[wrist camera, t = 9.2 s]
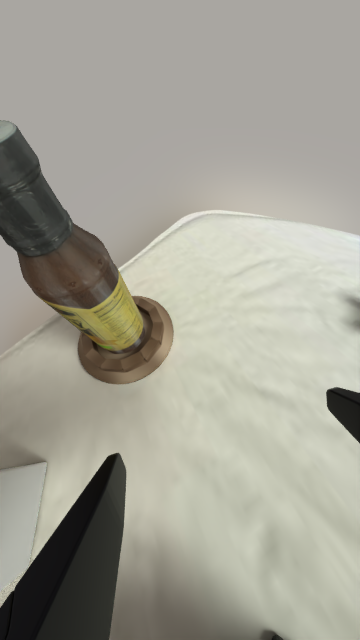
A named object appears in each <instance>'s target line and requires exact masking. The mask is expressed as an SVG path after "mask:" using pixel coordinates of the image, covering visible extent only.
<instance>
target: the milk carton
mask: <svg viewBox="0 0 360 640" xmlns="http://www.w3.org/2000/svg"><path fill="white" fill-rule="evenodd" d="M46 468H47V462H42V463H36V464H30V465H25V466H19V467H13V468H7V469H2V470H0V591H2V590H3V589H4V588H5V587H6V586H7V585H9V584H10V583H11V582H12V581H13V580H15V579H16V578H17V577H18V576H19V575H21V574H22V573H23V572H24V571H25V570H26V569H27V568H28V566H29V562H30V557H31V551H32V546H33V540H34V535H35V529H36V524H37V518H38V513H39V507H40V501H41V496H42V490H43V485H44V479H45V474H46Z"/></svg>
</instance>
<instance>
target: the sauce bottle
mask: <svg viewBox="0 0 360 640" xmlns="http://www.w3.org/2000/svg"><path fill="white" fill-rule="evenodd" d="M0 235H1V236H2V237H3V239H4V240H5V242H6V243H7V244H8V245H10V246H11V247H13V248H14V249H15V250H16V251H17V254H18V257H19V263H20V267H21V271H22V274H23V278H24V279H25V281H26V282H27V284H28V285H29V286H30V287H31V288H32V290H33V292H34V293H35V294H36V295H37V296H38V297H39V298H41V299H42V300H43V301H44V302H45V303H47V304H48V305H49V306H51V307H52V308H53V309H54V310H56V311H57V312H58V313H59V314H60V315H62V316H63V317H64V318H65V319H67V320H68V321H69V322H70V323H72V324H73V325H74V326H76V327H77V328H78V329H79V330H80V331H82V332H83V333H84V334H85V335H87V336H88V337H89V338H90V339H92V340H93V341H94V342H96V343H97V344H98V345H99V346H101V347H102V348H104V349H106V350H108V351H109V352H111V353H114V354H123V353H128V352H131V351H133V350H134V349H136V348H137V347H138V346H139V344H140V343H141V342H142V340H143V339H144V337H145V326H144V323H143V319H142V317H141V314H140V312H139V310H138V308H137V306H136V304H135V302H134V300H133V298H132V296H131V294H130V292H129V290H128V288H127V286H126V284H125V282H124V280H123V278H122V276H121V274H120V272H119V270H118V269H117V267H116V266H115V264H114V263H113V261H112V260H111V258H110V256H109V253H108V251H107V249H106V248H105V246H104V244H103V243H102V242H101V241H100V240H99V239H98V238H97V237H96V236H95V235H93V234H91V233H89V232H87V231H85V230H83V229H82V228H80V227H78V226H77V225H75V224H74V223H73V222H72V220H71V218H70V216H69V214H68V213H67V211H66V210H65V209H63V207H62V205H61V204H60V202H59V201H58V199H57V198H56V196H55V194H54V193H53V191H52V189H51V188H50V187H49V185H48V183H47V181H46V180H45V178H44V176H43V175H42V172H41V168H40V164H39V160H38V157H37V156H36V154H35V153H34V151H33V150H32V148H31V147H30V146H29V144H28V143H27V141H26V140H25V138H24V137H23V135H22V134H21V132H20V130H19V129H18V128H17V126H16V125H15V124H13V123H11V122H9V121H1V120H0Z"/></svg>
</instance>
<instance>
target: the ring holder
mask: <svg viewBox="0 0 360 640" xmlns="http://www.w3.org/2000/svg"><path fill="white" fill-rule="evenodd" d="M132 298H133V300H134V302H135V304H136V306H137V308H138V310H139V312H140V314H141V317H142V319H143V323H144V326H145V337H144V339H143V340H142V342H141V343H140V344H139V346H138V347H137V348H136V349H134V350H133V351H131V352H128V353H123V354H114V353H111V352H109V351H108V350H106V349H104V348H102V347H101V346H99V345H98V344H97V343H96V342H94V341H93V340H92V339H90V338H89V337H88V336H87V335H85V334H84V333H83V332H81V335H80V338H79V343H78V352H79V357H80V360H81V363H82V365H83V366H84V368H85V369H86V370H87V372H88V373H89V374H91V375H92V376H93V377H95V378H97V379H99V380H101V381H103V382H106V383H111V384H127V383H131V382H135V381H138V380H140V379H142V378H144V377H146V376H148V375H149V374H151V373H152V372H153V371H155V370H156V369H157V368H158V367H159V366H160V365H161V364H162V362H163V361H164V360H165V358H166V357H167V355H168V353H169V351H170V348H171V346H172V342H173V325H172V321H171V318H170V316H169V314H168V312H167V311H166V310H165V308H164V307H163V306H161V305H160V304H159V303H158V302H156V301H154V300H152V299H150V298H146V297H142V296H132Z"/></svg>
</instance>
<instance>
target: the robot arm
mask: <svg viewBox="0 0 360 640" xmlns="http://www.w3.org/2000/svg"><path fill="white" fill-rule="evenodd" d="M326 396H327V407H328V409H329V411H330V412H331V413H332V414H333V415H334V416H335V417H336V418H337V420H338V421H339V422H340V423H341V424H342V425H343V426H344V427H345V428H346V429H347V430H348V431H349V432H350V433H351V435H352V436H353V437H354V438H355V439H356V440H357V441H358V442H359V443H360V393H357V392H354V391H350V390H346V389H342V388H338V387H335V388H331V389H328V390H327V392H326ZM125 492H126V468H125V465H124V463H123V460H122V458H121V455H120V454H119V453H115V454H112V455H109V456H108V457H107V458H106V460H105V461H104V462H103V464H102V465H101V467H100V468H99V469H98V471H97V472H96V474H95V475H94V476H93V478H92V479H91V481H90V482H89V484H88V485H87V486H86V488H85V489H84V491H83V492H82V493H81V495H80V496H79V498H78V499H77V500H76V502H75V503H74V505H73V506H72V507H71V509H70V510H69V512H68V513H67V515H66V516H65V517H64V519H63V520H62V522H61V523H60V524H59V526H58V527H57V529H56V530H55V531H54V533H53V534H52V536H51V537H50V538H49V540H48V541H47V543H46V544H45V546H44V547H43V548H42V550H41V551H40V553H39V554H38V555H37V557H36V558H35V560H34V561H33V562H32V564H31V565H30V567H29V568H28V569H27V571H26V572H25V574H24V575H23V577H22V578H21V579H20V581H19V582H18V584H17V585H16V587H15V590H14V591H12V592H11V593H10V595H9V596H8V598H7V599H6V600H5V602H4V603H3V605H2V606H1V607H0V640H109V635H110V628H111V620H112V613H113V605H114V597H115V590H116V582H117V575H118V567H119V559H120V552H121V544H122V537H123V528H124V512H125ZM272 640H283V639H282V638H281V637H280V636H278V635H275V636H273V638H272Z"/></svg>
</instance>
